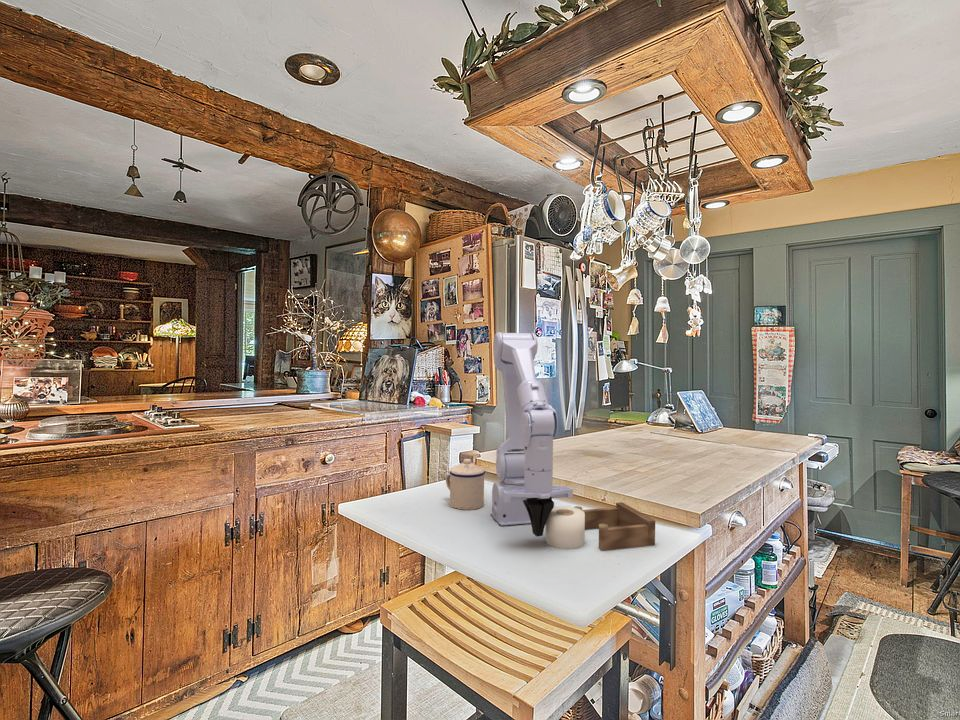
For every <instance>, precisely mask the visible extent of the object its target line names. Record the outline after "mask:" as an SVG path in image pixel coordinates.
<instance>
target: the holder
mask: <svg viewBox="0 0 960 720" xmlns="http://www.w3.org/2000/svg"><path fill="white" fill-rule="evenodd" d="M573 507H574V508H578V509H580V510H582V511H583V512H584V513H585V531H586V530H596V529H598V549H599V550H600V551H601V552H602V551H603V552H604V551H612V550H619V549H621V548H622V549H630V547H631V548H638V547H648V546H655V545H656V520H655V519H653V518H651V517H650V516H648V515H646V514H644V513H643V512H641V511H639V510H637V509H635V508H634V507H632V506H629V505H628V504H626V503H624V502H621V501H620V502H616V503H615V507H614V506H612V507H605V508H604V507H602V508H590V509H583V507H582V506H579V505H578V506H573Z"/></svg>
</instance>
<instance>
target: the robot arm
mask: <svg viewBox="0 0 960 720" xmlns="http://www.w3.org/2000/svg"><path fill="white" fill-rule="evenodd" d="M492 343H493V345H492V351H493V363H494V368H495V369H496V370H498V371H499V372H500V373H501V377H502V382H503V383H502V385H503V396H504V398H503V399H504V412H505V425H506V438H507V439H505V440H504V441H503V442H502V443H500V445H498V447H497V449H496V451H495V452H496V458H495V471H496V475H497V477H498V479H499V480H500V481H498V482H494V483H493V484H492V490H491V499H492V500H491V512H490V515H491V516H492V517H493V518H494V520H495V521H496V522H497V523H498V524H499V525H500V526H501V527H502V526H513V525H524V524H525V525H527V524H531V528H532V534H533V535H534V536H535V537H543V535H544V531H545V524H546V521H547V518H548V516H549V514H550V512H551V511H552V509H553V508H554V507H555V501H553V499H561V498H567V499H573V498H574V488H572V487H570V486H568V485H567V486H563V485H562V486H561V485H559V486H558V485H557V486H556V485H554V486H553V480H554V479H553V477H554V476H553V473H554V472H553V471H554V470H553V469H554V467H553V466H554V465H553V462H554V457H553V456H554V437H556V436H557V435H558V430H559V419H558V413H557V411H556V409H554V408H553V407H552V404H549V403H548V398H547V396H546V391H545V388H544V385H543V383H542V382H541V381H539V380H537V377H536V369H535V364H534V361H535V359H536V356H537V353H538V347H539V346H538V345H539V344H538V337H537V335H536V334H535V332H530V333H529V332H524V333H522V332H500V331H497V332H496V333H495V335H494V336H493V342H492Z"/></svg>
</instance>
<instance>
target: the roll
mask: <svg viewBox="0 0 960 720" xmlns="http://www.w3.org/2000/svg"><path fill="white" fill-rule="evenodd" d="M574 507H575V506H566V505H556V506H555V505H554V508H553V509H552V511H551V512H550V514H549V516H548V518H547V521H546V524H545V527H544V531H545V533H544V534H545V535H544V536H545V542H546V544H547V545H549V546H551V547H554V548H557V549H561V550H576V549H579V548H582V547H583V546H584V545H585V542H586V541H585V538H586V537H585V536H586V532H585V531H586V530H585V513H584V512H583V511H582V510H583V509H582V510H580V509H578V508H574Z"/></svg>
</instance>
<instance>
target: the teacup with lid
mask: <svg viewBox="0 0 960 720" xmlns="http://www.w3.org/2000/svg"><path fill="white" fill-rule="evenodd" d="M485 474H486V471H485V469H484V467H482V466H479V465H477V464H475V463H474V462H472V459H471V458H463V462H462V463H459V464H458V465H455V466H452V467H451V468H450V469H449V472H448V473H447V474H446V475H445V484H446V487H447V489H448V491H449V505H450V506H451V507H452V508H453V507H454V508H453V509H456V508H457V509H456V510H461V509H463V510H462V511H472V510H473V509H474V510H477V509H481V508H482V507H483V506H484V505H485Z"/></svg>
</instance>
